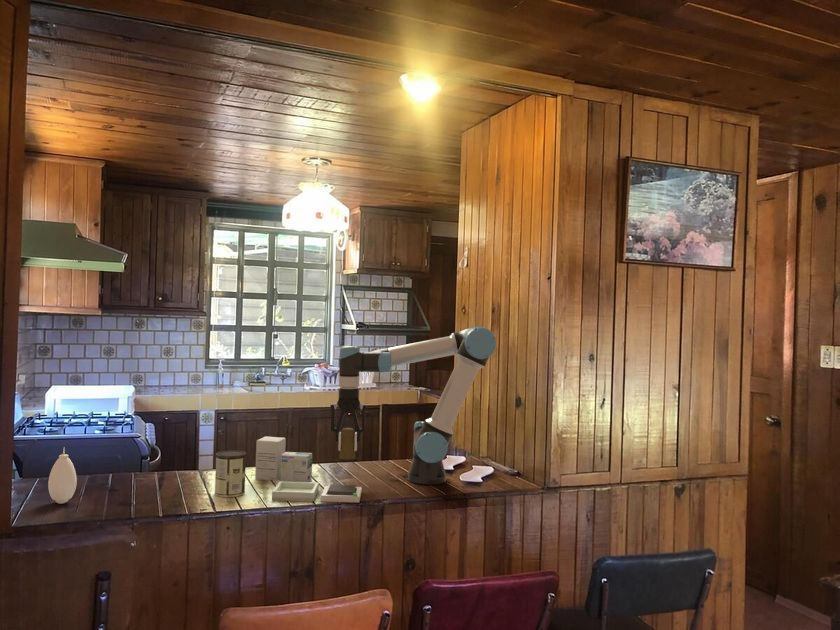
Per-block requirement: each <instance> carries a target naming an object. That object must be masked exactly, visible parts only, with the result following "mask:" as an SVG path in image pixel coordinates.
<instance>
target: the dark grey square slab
mask: <svg viewBox="0 0 840 630" xmlns="http://www.w3.org/2000/svg"><path fill="white" fill-rule="evenodd" d="M329 486H330V487H329V489H328V495H353V493H355V490H356V487H357V485H355V484H330V485H329Z"/></svg>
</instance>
